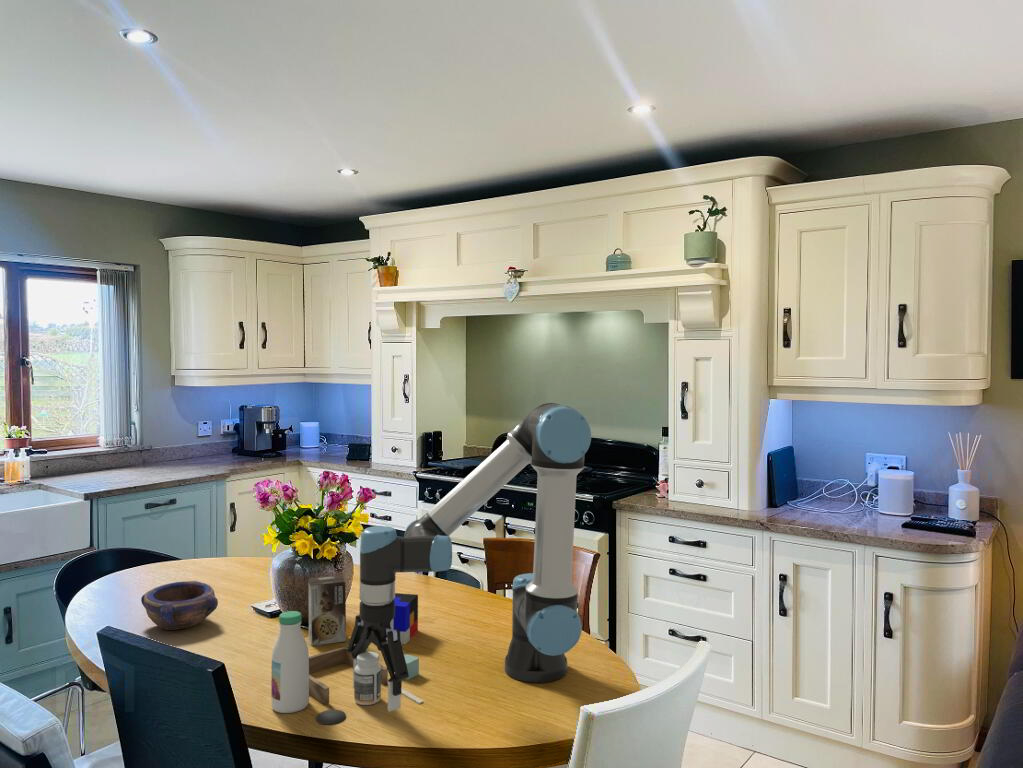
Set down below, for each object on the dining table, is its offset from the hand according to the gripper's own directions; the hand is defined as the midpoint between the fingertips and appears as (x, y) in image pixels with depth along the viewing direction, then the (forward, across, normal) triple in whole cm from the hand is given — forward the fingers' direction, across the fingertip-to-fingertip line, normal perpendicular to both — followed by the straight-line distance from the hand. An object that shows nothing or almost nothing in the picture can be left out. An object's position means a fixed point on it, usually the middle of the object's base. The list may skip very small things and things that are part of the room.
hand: (376, 697), depth 164 cm
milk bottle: (+2, +12, +14) cm, 18 cm away
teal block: (+2, +9, -14) cm, 17 cm away
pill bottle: (+2, +4, 0) cm, 4 cm away
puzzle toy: (+2, +32, -26) cm, 41 cm away
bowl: (+3, +77, +14) cm, 78 cm away
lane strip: (+2, +1, -8) cm, 8 cm away
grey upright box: (+2, +41, -11) cm, 42 cm away
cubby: (+2, +17, 0) cm, 17 cm away
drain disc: (+2, +2, +10) cm, 10 cm away
